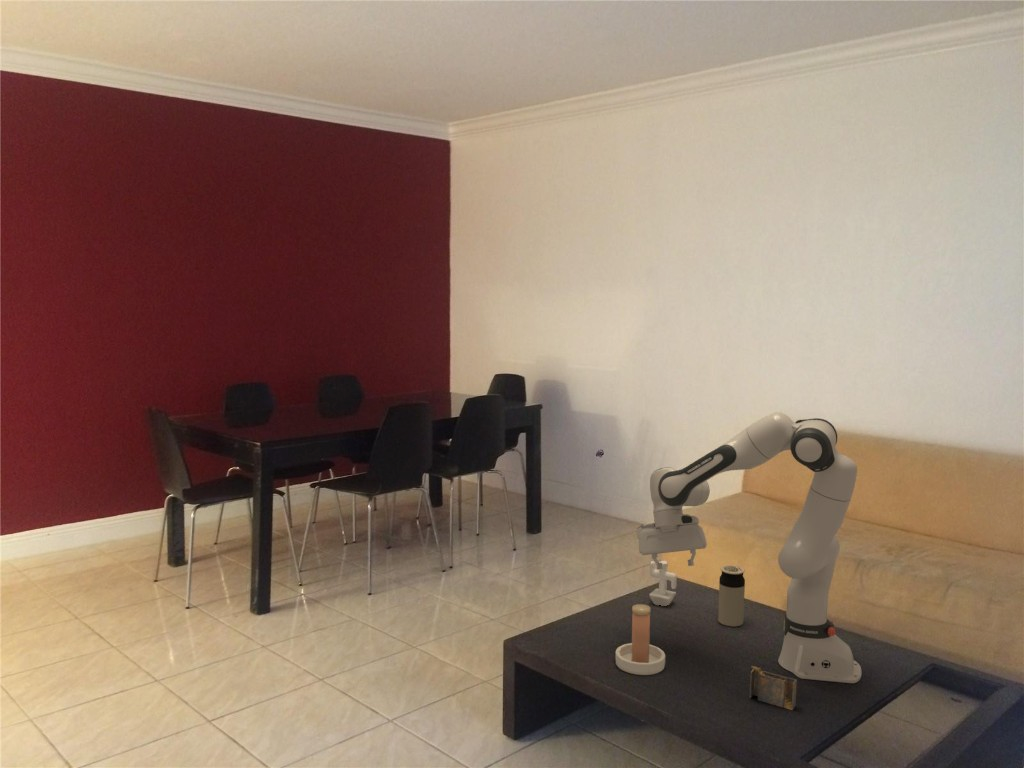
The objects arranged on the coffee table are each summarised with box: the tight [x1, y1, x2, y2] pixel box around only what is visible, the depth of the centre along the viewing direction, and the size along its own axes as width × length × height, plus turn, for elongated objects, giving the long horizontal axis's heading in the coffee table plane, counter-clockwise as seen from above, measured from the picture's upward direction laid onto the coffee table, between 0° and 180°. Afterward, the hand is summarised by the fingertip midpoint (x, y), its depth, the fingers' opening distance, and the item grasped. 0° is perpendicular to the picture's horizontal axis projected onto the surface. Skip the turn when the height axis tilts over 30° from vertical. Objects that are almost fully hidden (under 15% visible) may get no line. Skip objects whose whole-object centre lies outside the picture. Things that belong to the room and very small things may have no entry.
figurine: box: [649, 560, 678, 607], centre depth 286 cm, size 7×9×15 cm
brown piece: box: [749, 665, 798, 711], centre depth 219 cm, size 11×3×10 cm, turn 57°
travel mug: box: [717, 564, 746, 628], centre depth 270 cm, size 8×8×18 cm
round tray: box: [615, 642, 666, 676], centre depth 241 cm, size 14×14×3 cm
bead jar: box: [631, 603, 652, 663], centre depth 240 cm, size 5×5×16 cm
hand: (675, 567), depth 250 cm, fingers open, 8 cm apart
